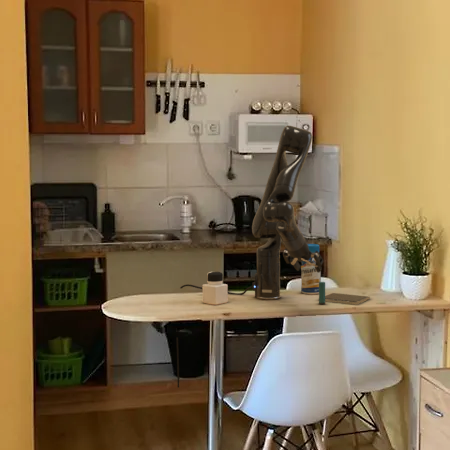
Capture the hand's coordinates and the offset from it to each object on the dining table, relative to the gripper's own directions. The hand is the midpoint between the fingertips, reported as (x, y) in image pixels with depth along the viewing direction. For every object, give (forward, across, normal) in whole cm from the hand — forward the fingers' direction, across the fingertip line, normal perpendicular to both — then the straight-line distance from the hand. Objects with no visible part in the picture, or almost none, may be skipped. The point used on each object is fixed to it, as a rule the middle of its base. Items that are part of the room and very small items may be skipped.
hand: (309, 269), depth 277 cm
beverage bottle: (+32, +14, -10) cm, 36 cm away
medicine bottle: (+5, +37, +16) cm, 40 cm away
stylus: (+18, 0, +3) cm, 18 cm away
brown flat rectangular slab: (+26, -4, -6) cm, 27 cm away
